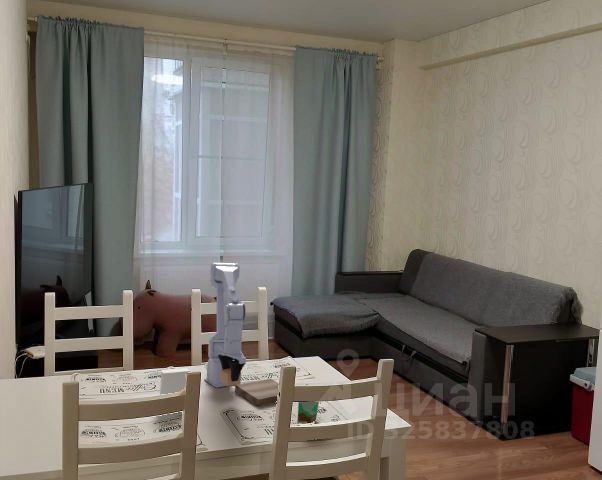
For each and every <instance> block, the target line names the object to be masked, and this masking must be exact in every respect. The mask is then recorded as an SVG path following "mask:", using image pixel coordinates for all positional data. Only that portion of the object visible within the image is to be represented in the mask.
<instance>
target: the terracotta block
mask: <svg viewBox="0 0 602 480" xmlns="http://www.w3.org/2000/svg"><path fill="white" fill-rule="evenodd" d="M241 379H242V372H241V373H240V376H239V379H238V381H234V382H232V380H231V369H224V370H221V372H220V382H221V383H223V384H225V385H226V386H225V387H232V386H235V385H238V384H241Z"/></svg>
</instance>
